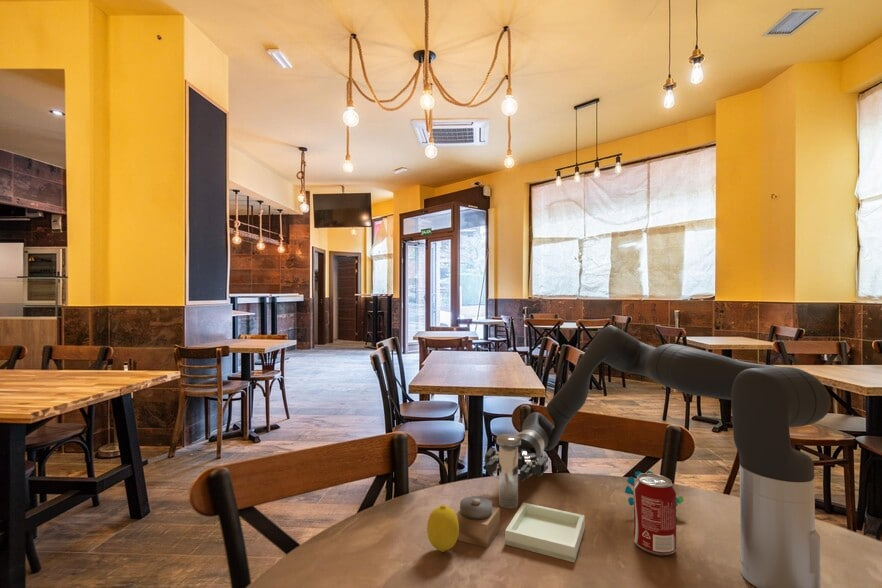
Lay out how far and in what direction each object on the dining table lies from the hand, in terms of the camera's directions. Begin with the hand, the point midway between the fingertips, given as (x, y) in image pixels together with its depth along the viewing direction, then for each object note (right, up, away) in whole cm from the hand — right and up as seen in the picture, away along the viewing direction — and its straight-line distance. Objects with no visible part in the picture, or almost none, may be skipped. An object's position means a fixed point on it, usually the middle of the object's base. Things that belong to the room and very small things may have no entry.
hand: (505, 472), depth 90 cm
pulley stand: (-7, -7, -10) cm, 14 cm away
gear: (+30, -8, -2) cm, 31 cm away
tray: (+6, -7, -11) cm, 14 cm away
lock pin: (+1, -8, +2) cm, 8 cm away
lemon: (-13, -7, -16) cm, 22 cm away
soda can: (+24, -8, -14) cm, 29 cm away
